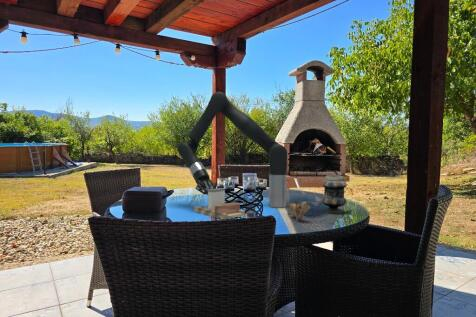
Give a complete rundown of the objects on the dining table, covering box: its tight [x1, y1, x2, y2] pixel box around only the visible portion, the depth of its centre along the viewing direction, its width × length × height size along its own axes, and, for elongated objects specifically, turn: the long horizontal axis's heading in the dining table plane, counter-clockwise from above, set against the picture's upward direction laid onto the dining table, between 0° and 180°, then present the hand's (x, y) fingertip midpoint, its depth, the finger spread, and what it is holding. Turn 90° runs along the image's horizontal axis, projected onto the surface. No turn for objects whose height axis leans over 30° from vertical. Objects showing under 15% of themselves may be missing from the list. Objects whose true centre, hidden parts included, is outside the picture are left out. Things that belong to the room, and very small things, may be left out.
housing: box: [193, 201, 246, 220], centre depth 164 cm, size 24×12×6 cm, turn 43°
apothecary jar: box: [320, 174, 348, 215], centre depth 169 cm, size 12×12×18 cm
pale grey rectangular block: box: [207, 187, 226, 211], centre depth 165 cm, size 3×8×10 cm, turn 133°
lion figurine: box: [286, 201, 311, 222], centre depth 153 cm, size 15×5×9 cm, turn 27°
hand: (214, 199), depth 166 cm, fingers closed
